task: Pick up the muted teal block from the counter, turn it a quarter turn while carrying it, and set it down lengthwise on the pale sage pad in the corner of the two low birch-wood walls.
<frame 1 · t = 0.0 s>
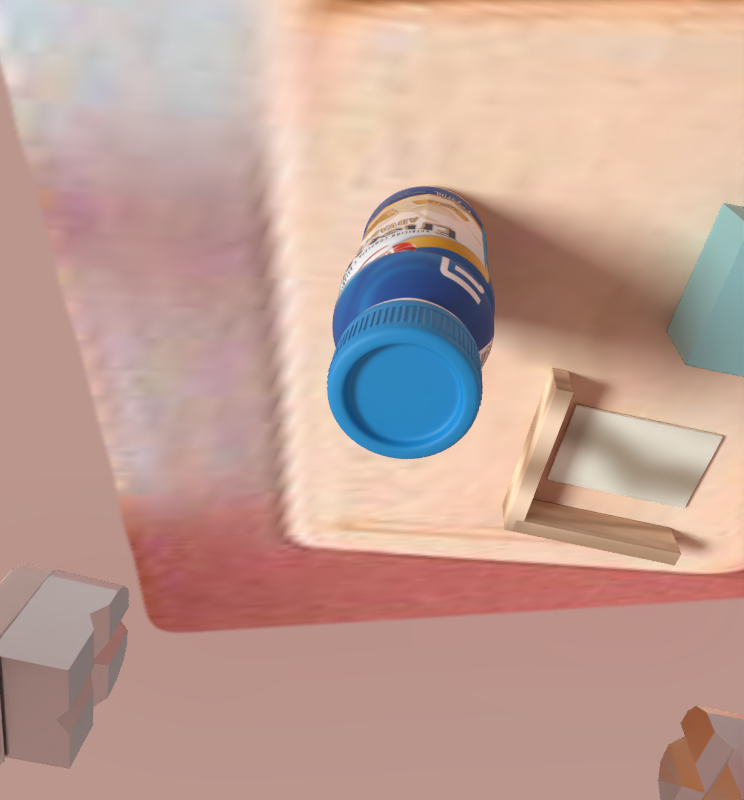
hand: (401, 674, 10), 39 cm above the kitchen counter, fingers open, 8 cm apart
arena: (631, 456, 53), on the kitchen counter
beverage bottle: (424, 244, 47), on the kitchen counter
teal block: (730, 277, 46), on the kitchen counter
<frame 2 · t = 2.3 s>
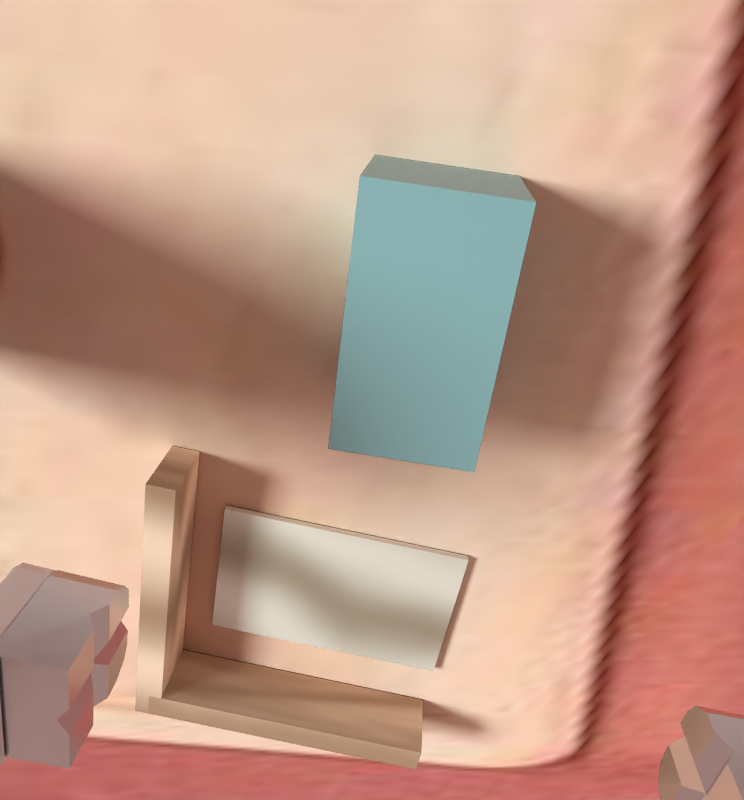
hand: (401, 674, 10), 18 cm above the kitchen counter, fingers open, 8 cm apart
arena: (335, 589, 33), on the kitchen counter
teal block: (425, 289, 26), on the kitchen counter
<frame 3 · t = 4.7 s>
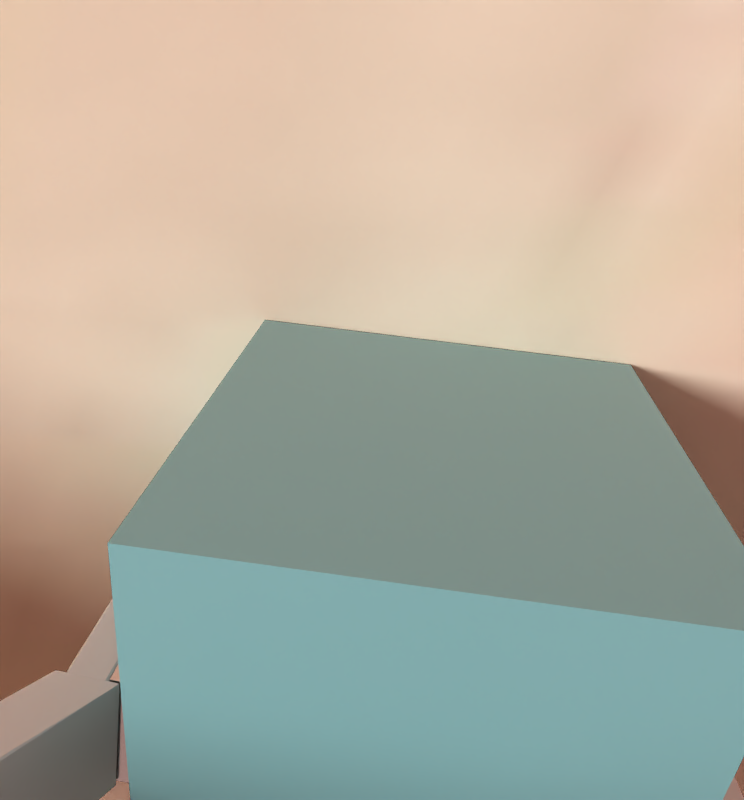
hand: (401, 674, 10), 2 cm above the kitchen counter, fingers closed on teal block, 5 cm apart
teal block: (407, 596, 11), on the kitchen counter, touching gripper
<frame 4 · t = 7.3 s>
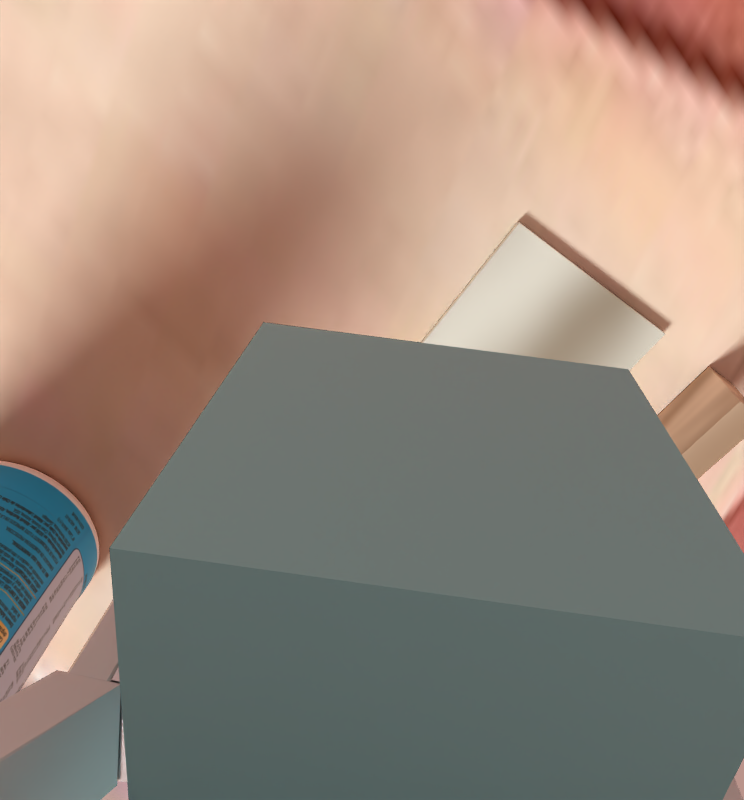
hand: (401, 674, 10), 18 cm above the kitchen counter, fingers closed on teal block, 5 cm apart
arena: (495, 386, 28), on the kitchen counter
beverage bottle: (20, 526, 33), on the kitchen counter
teal block: (403, 599, 11), point 16 cm above the kitchen counter, touching gripper
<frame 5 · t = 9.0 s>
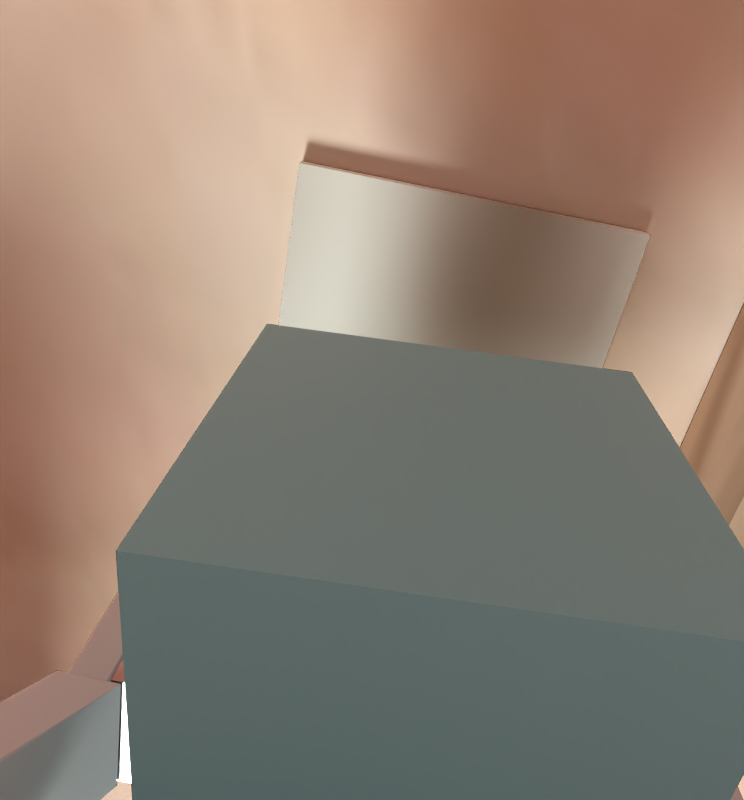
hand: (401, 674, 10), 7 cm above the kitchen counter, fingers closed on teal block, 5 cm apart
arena: (416, 433, 16), on the kitchen counter
teal block: (405, 601, 11), point 5 cm above the kitchen counter, touching gripper
when the fingers open (3 cm above the kitchen counter, at t = 10.2 s): teal block drops 1 cm, resting on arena.
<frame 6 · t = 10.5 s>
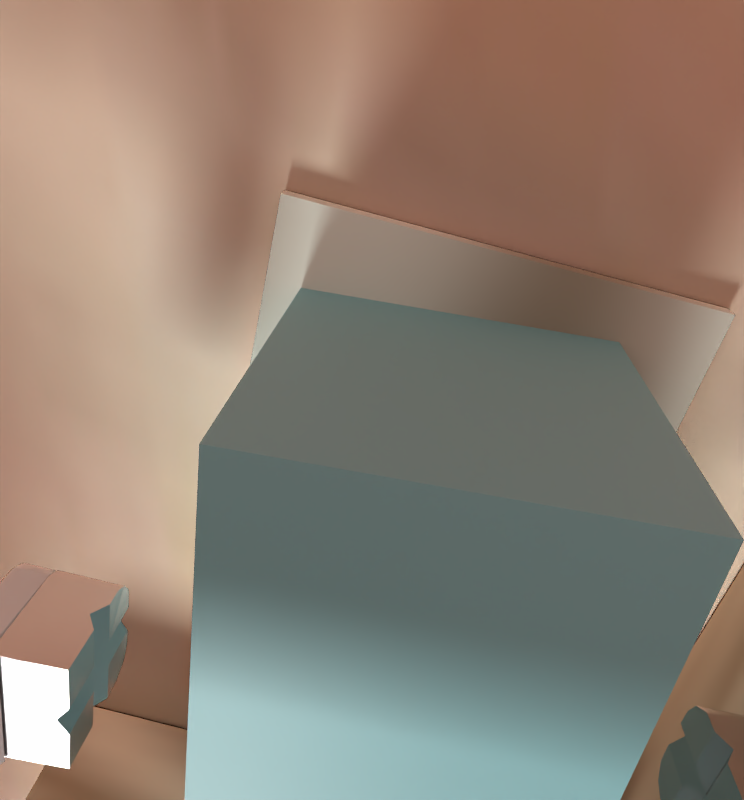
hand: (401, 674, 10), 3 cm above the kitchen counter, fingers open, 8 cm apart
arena: (413, 532, 13), on the kitchen counter
teal block: (410, 545, 13), resting on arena
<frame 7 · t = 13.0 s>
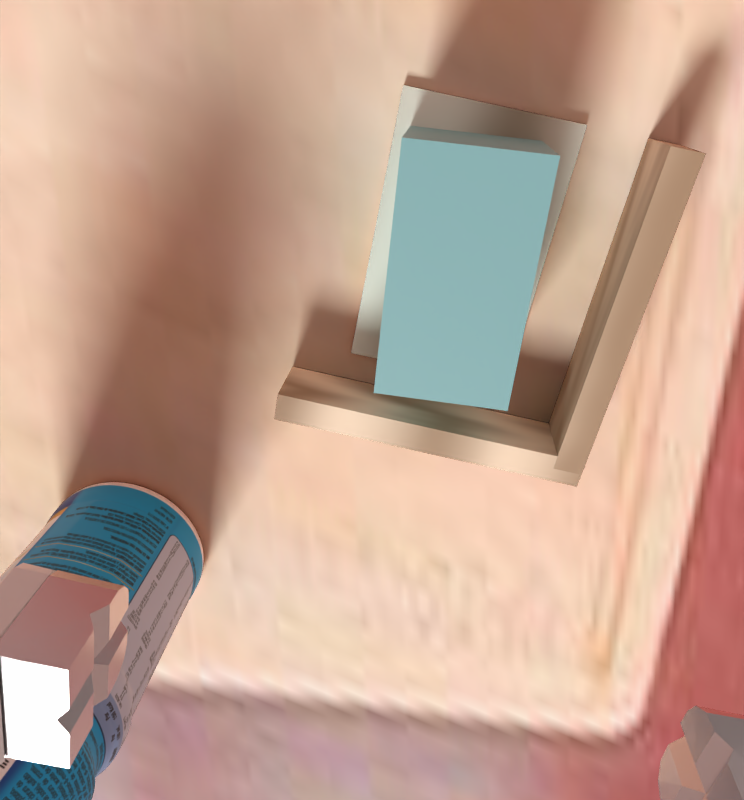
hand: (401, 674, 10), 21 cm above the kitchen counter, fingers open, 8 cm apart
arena: (458, 247, 29), on the kitchen counter
beverage bottle: (134, 540, 37), on the kitchen counter
teal block: (457, 250, 28), resting on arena
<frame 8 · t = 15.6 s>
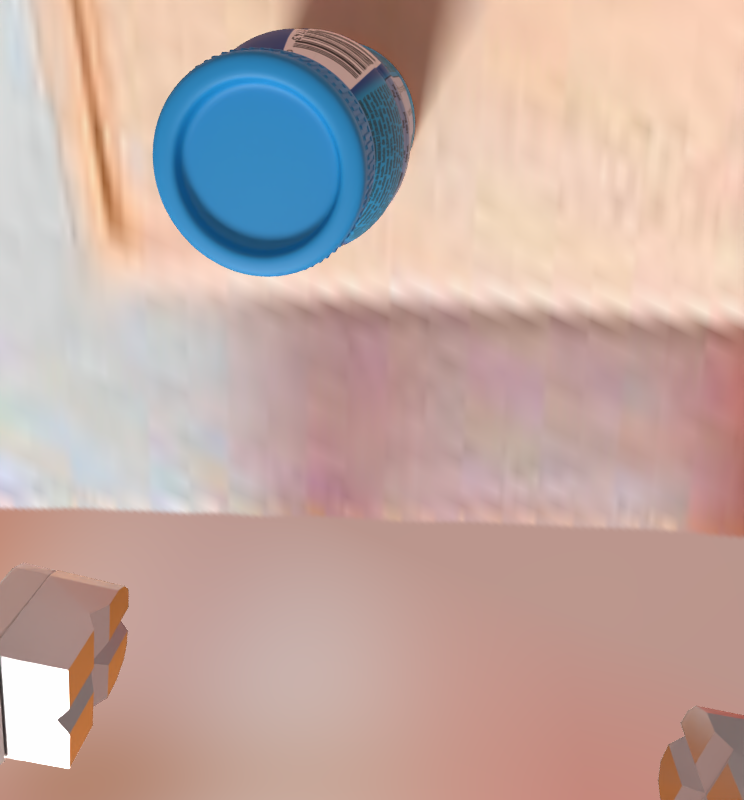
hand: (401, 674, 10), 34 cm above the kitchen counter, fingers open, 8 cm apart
beverage bottle: (343, 122, 39), on the kitchen counter
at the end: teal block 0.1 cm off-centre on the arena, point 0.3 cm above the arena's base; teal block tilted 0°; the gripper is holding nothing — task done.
